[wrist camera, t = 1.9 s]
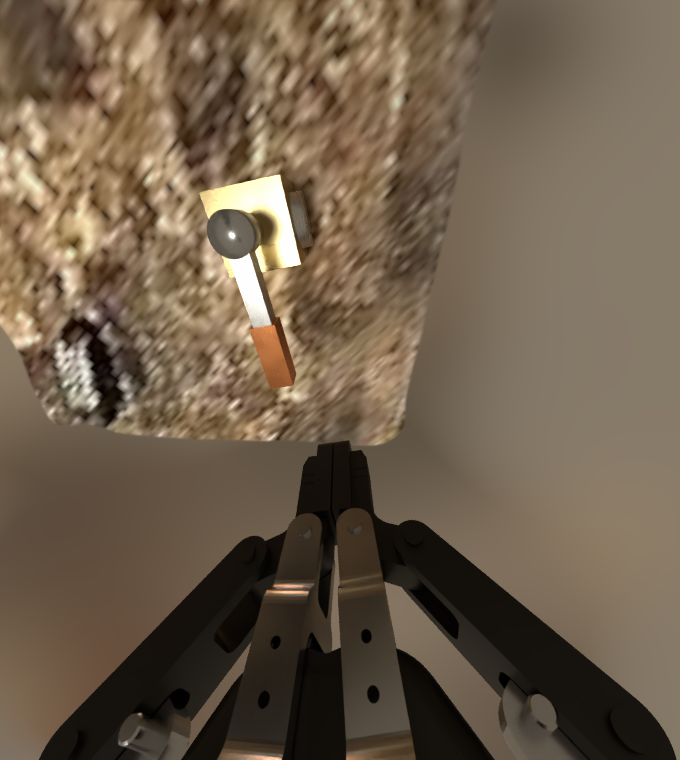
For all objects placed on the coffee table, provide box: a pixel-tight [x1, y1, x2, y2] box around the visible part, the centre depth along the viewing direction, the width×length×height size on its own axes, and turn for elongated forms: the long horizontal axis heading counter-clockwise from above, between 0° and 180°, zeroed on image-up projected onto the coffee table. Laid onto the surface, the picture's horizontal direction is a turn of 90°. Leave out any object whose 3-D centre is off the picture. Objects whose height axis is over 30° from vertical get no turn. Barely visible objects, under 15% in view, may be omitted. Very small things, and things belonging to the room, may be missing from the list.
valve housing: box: [199, 174, 313, 278], centre depth 27 cm, size 7×9×10 cm
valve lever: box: [207, 209, 296, 389], centre depth 24 cm, size 15×3×2 cm, turn 10°
